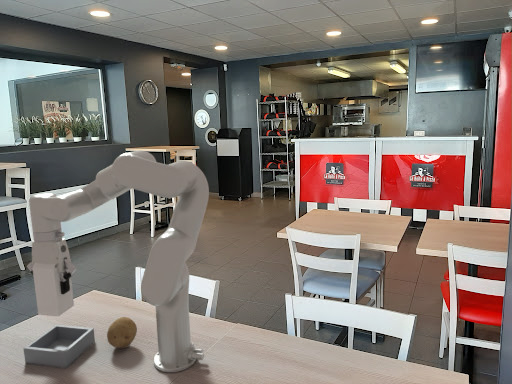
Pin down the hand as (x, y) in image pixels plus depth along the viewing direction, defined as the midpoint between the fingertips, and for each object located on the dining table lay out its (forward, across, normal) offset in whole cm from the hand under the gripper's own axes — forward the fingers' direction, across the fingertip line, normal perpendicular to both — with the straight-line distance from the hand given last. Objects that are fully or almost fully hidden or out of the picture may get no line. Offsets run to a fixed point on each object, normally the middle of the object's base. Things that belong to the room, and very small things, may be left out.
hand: (54, 291), depth 120 cm
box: (+20, 0, 0) cm, 20 cm away
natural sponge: (+21, -18, -6) cm, 28 cm away
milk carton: (+7, 0, 0) cm, 7 cm away
